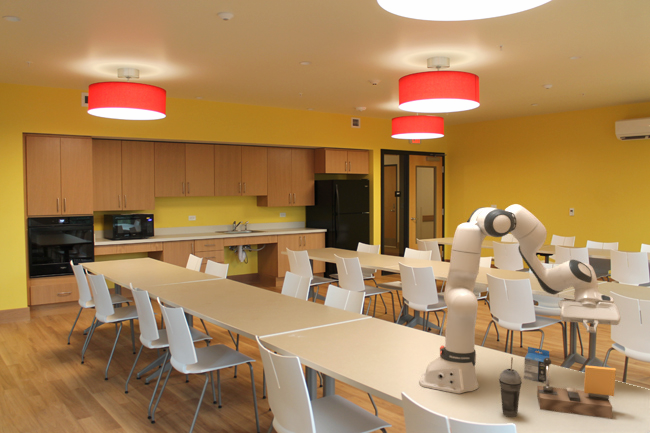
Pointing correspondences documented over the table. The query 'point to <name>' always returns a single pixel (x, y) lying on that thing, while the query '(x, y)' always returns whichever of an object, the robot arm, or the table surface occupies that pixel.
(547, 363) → the steel toggle lever
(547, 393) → the control panel
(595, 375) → the orange paddle
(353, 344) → the table surface
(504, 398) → the beverage cup
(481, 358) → the table surface
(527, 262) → the robot arm
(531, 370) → the label tape box
